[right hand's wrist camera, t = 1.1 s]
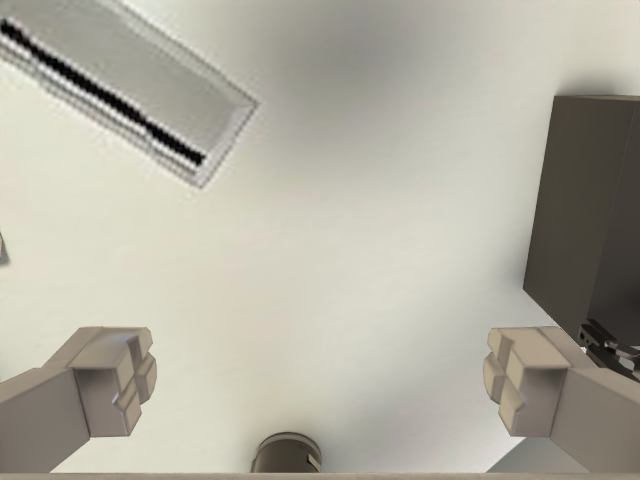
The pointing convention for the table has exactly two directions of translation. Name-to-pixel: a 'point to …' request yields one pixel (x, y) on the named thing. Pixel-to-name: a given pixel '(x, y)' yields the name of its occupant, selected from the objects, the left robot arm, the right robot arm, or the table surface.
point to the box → (589, 217)
